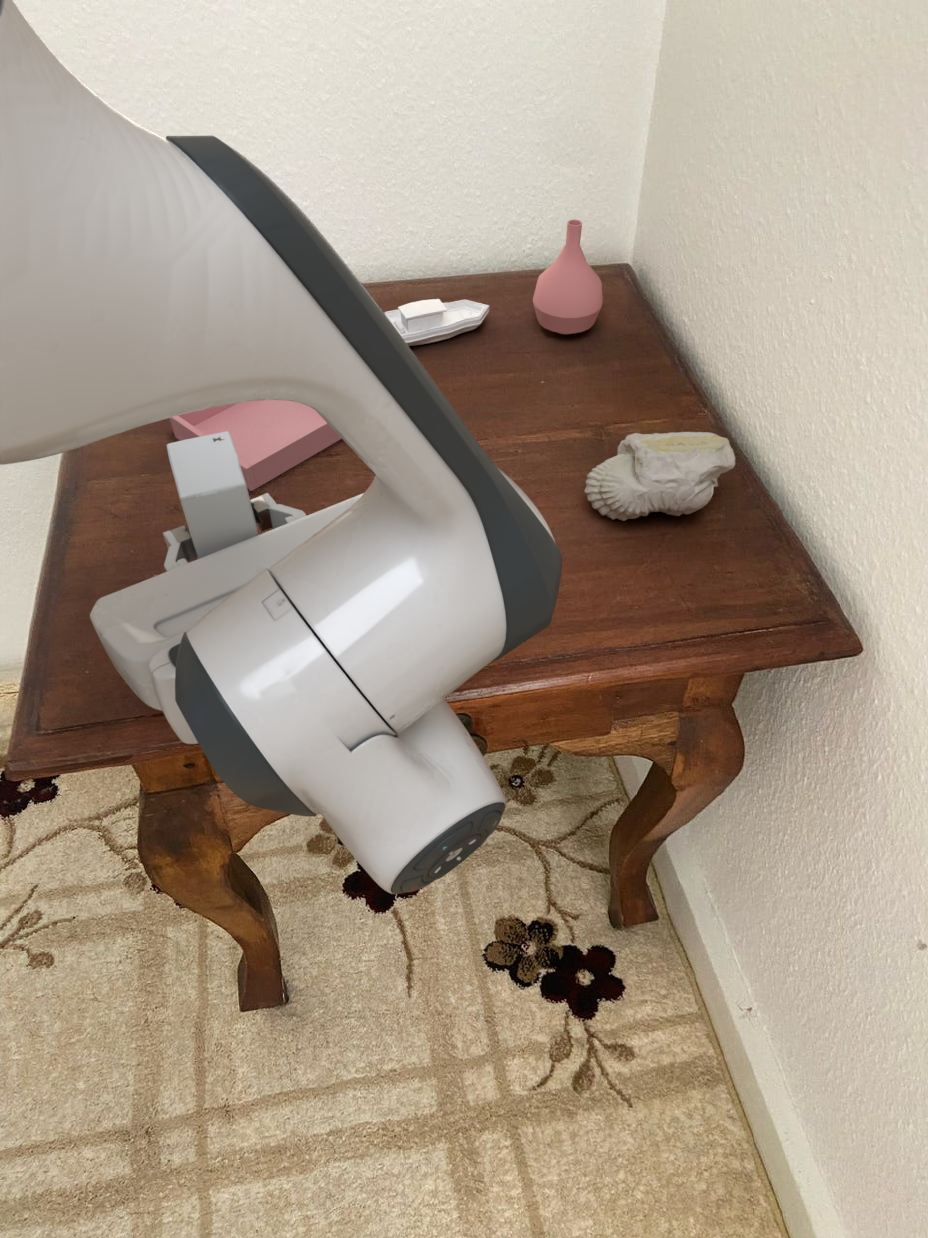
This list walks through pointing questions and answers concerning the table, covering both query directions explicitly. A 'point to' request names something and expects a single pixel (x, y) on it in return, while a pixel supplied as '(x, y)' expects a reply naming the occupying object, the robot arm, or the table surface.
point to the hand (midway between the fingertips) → (216, 519)
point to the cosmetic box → (212, 492)
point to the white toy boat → (436, 319)
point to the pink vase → (568, 289)
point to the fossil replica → (659, 474)
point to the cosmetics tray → (262, 434)
